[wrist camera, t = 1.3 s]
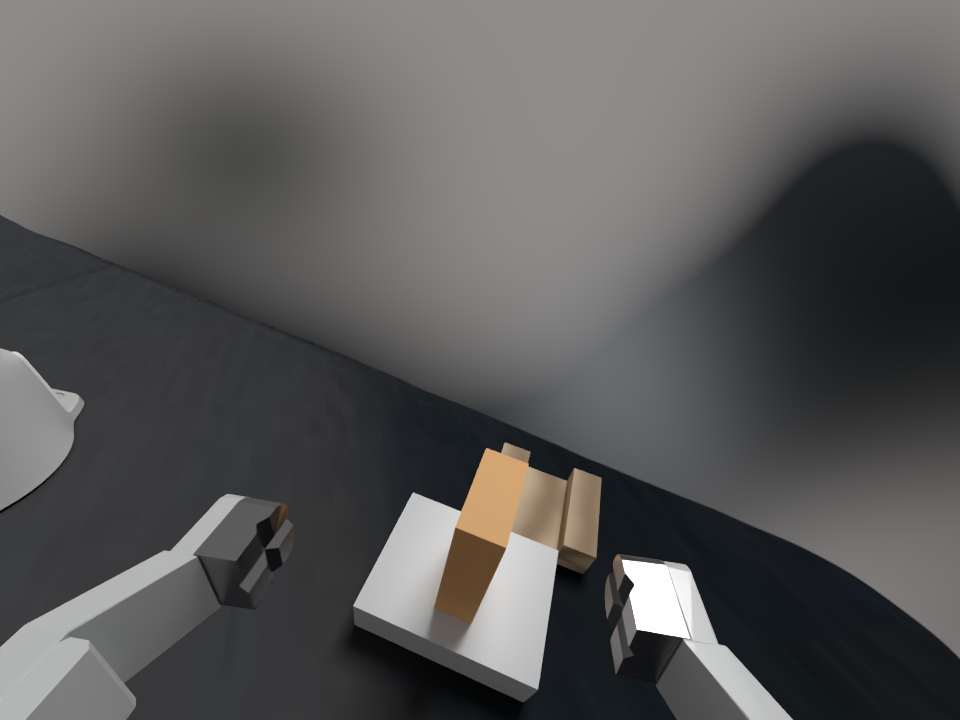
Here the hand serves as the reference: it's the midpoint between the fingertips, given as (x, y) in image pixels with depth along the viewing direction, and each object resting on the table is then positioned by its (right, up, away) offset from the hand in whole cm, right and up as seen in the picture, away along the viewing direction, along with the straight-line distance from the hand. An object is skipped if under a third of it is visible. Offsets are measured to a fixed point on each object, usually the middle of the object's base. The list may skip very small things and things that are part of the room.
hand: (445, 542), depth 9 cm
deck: (-1, -16, +24) cm, 29 cm away
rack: (+7, -12, +31) cm, 34 cm away
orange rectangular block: (0, -13, +21) cm, 25 cm away
